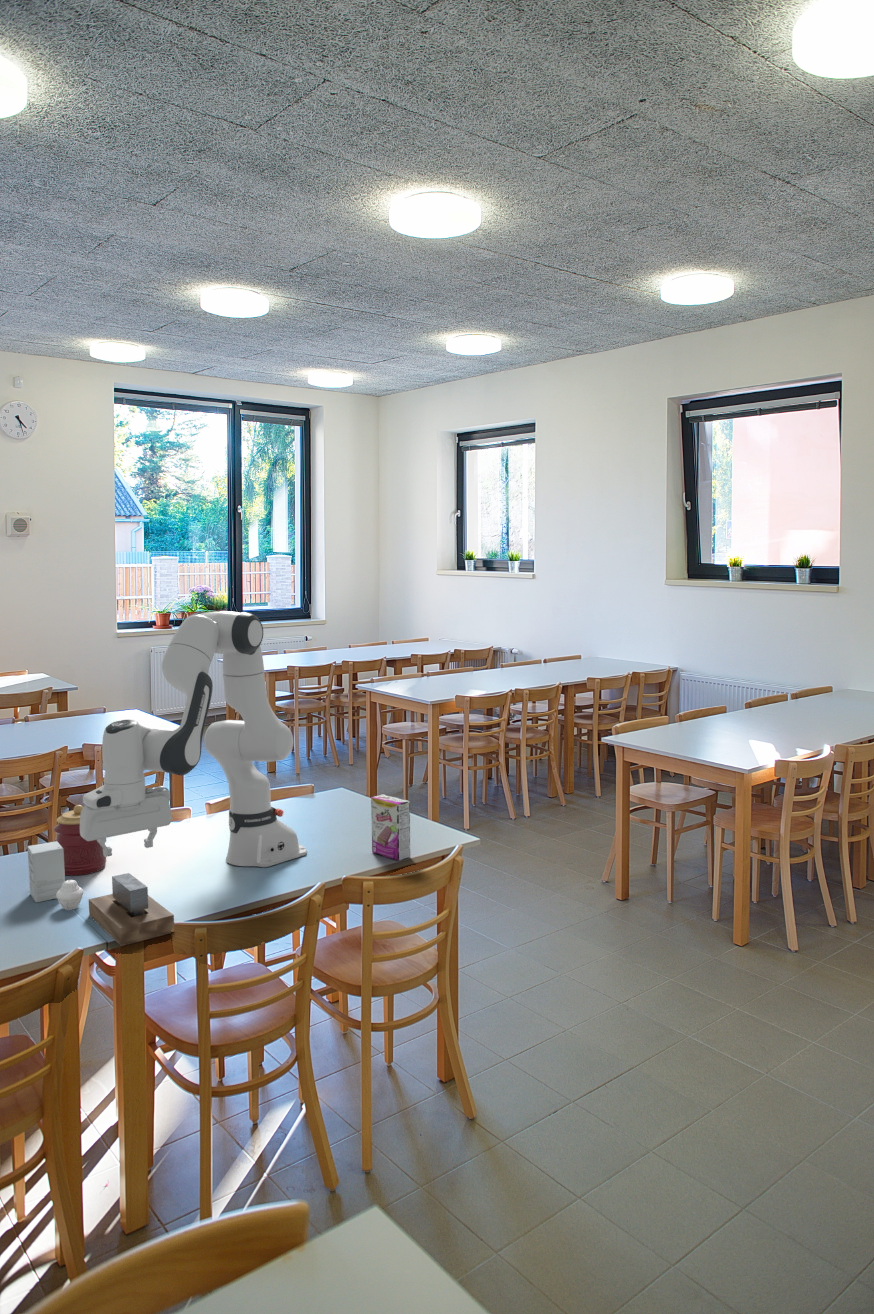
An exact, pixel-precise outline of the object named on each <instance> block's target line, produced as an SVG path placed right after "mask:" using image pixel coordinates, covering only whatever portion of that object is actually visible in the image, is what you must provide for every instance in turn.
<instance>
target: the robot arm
mask: <svg viewBox="0 0 874 1314" xmlns="http://www.w3.org/2000/svg"><path fill="white" fill-rule="evenodd" d="M263 639H264V626H263V623H262V622H261V620H260V619H259V617H258V616H257V615H255V614H252V613H251V612H245V611H242V612H238V611H231V610H230V611H228V610H221V611H209V612H207V611H206V612H205V611H199V612H194V613H192V614H190V615H188V616H187V617H186V618H185V619H184V620H183V621H182V623H181V624H180V625H179V626H178V629H176V631H175V633H174V634H173V636H172V638H171V641H170V642H169V644H168V647H167V648H166V651H165V653H164V656H163V658H162V662H161V672H162V673H163V676H164V679H165V680H166V681H167V682H168V683H169V684H170V685H171V686H172V687H173V688H175V689H176V690H177V691H179V692H181V693H183V694H185V696H186V701H185V702H186V703H185V706H184V710H183V714H182V718H181V722H180V725H179V727H177V728H176V729H174V730H165V729H157V728H156V729H155V728H150V727H146V726H143V725H141V724H139V722H138V720H135V719H122V720H121V719H120V720H116V721H113V722H111V723H110V724H108V725H107V726H106V727H105V728H104V731H103V734H102V743H101V744H102V745H101V753H102V755H101V756H102V765H103V768H104V777H103V785H101V786H99V787H98V788H95V789H93V790H91V791H88V792H87V793H85V794H83V796H82V802H83V804H84V806H83V809H82V811H81V814H80V835H81V837H82V838H83V839H85V840H86V841H93V840H97V842H98V843H99V844H100V846H101V847H102V848H103V855H104V856H105V857H106V858H108V857H112V856H113V852H112V851H113V848H112V847H111V846H107V845H106V843H107V839H108V838H112V837H116V836H121V835H122V836H123V835H127V834H131V833H132V834H133V833H137V832H141V831H146V830H147V831H148V832H149V833H148V836H147V838H144V839H143V842H144V843H143V846H144V848H146V849H149V848H154V839H155V837H156V835H157V833H158V828H162V827H167V826H169V825H170V824H171V822H172V820H173V815H172V809H171V803H170V801H171V791H170V789H168V788H167V787H164V786H163V785H159V786H157V787H149V788H146V776H145V773H144V771H146V770H147V771H151V772H159V773H160V772H163V773H167V774H172V775H176V776H185V775H187V774H189V773H190V772H191V771H193V770H194V769H195V768H196V766H197V765H198V764H199V761H200V760H201V756H202V755H201V754H202V742H203V741H204V747H205V750H206V751H207V753H208V754H209V755H211V757H213V758H214V759H215V761H216V762H217V763H218V764H219V765H220V767H221V768H222V770H223V772H224V775H225V777H226V780H227V784H228V794H229V805H230V807H229V808H230V809H229V810H228V826H229V843H228V844H229V845H228V849H227V854H226V858H225V862H227V863H228V864H229V865H233V866H239V867H259V868H260V867H261V868H268V867H271V866H275V865H278V864H282V863H285V862H287V861H291V860H294V859H297V858H300V857H303V856H306V855H307V853H308V851H307V849H306V847H305V846H304V845H302V844H300V843H299V839H298V835H297V834H296V833H297V832H296V831H295V830H294V829H293V828H292V827H290V826H288V825H287V824H285V823H284V822H283V821H281V820H279V819H278V818H277V817H279V818H280V817H283V815H284V813H285V812H284V810H283V809H280V808H275V807H273V806H272V805H271V802H272V801H271V783H270V780H269V778H268V777H267V776H266V775H265V774H263V773H262V772H260V771H259V770H258V769H257V768H256V766H255V764H254V762H263V763H264V762H265V763H270V762H277V761H283V760H286V759H287V758H288V757H289V756H290V754H291V753H292V750H293V748H294V736H293V735H294V734H293V732H292V730H291V729H290V728H289V726H287V725H286V724H285V723H283V722H282V720H280V719H279V718H278V716H277V715H276V714H275V712H274V711H273V709H272V707H271V704H270V701H269V698H268V695H267V693H268V692H267V687H266V686H267V685H266V677H265V667H264V658H263V657H264V656H263V652H262V648H261V644H262V642H263ZM215 654H220V655H222V678H223V691H224V699H225V702H226V704H227V705H228V706H229V707H230V708H231V709H233V710H235V711H236V712H237V713H238V715H240V716H241V719H243V720H241V719H240V720H239V719H238V720H236V719H235V720H234V719H226V720H220V721H216V722H211V724H210V725H209V726H208V727H207V729H206V731H205V727H206V723H207V718H208V715H209V708H210V705H211V702H212V701H211V700H212V695H213V680H212V678H211V676H210V675H209V669H210V667H211V663H212V661H213V659H214V656H215ZM204 732H205V733H204ZM203 735H204V738H203ZM203 739H204V740H203ZM104 843H105V844H104Z"/></svg>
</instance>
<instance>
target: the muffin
mask: <svg viewBox="0 0 874 1314" xmlns="http://www.w3.org/2000/svg"><path fill="white" fill-rule="evenodd" d="M83 895H84V889H83V888H82V887H80V886H79V885H78V882H77V881H76V880H74V879H67V880H65V882H63V883H62V887H61V888H60V890H59V891H58V892H57V894H56V897H57V898H56V899H57V902H58V903H59V904H60V907H62V909H63V910H64V909H65V910H64V911H73V910H75V909H77V908H78V907H79V905H80V903H81V901H82V899H83ZM72 909H73V910H72Z"/></svg>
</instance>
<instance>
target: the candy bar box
mask: <svg viewBox="0 0 874 1314" xmlns="http://www.w3.org/2000/svg"><path fill="white" fill-rule="evenodd" d="M370 798H371V800H370V802H371V850H372V851H371V852H372V854H376V855H379V856H382V857H385V858H389V859H392V860H395V861H397V862H400V861H403V860H406V859H409V858H411V809H410V808H411V807H410V806H411V805H410V801H409V800H407V799H403V798H399V797H395V796H391V795H387V794H384V793H383V794H382V793H381V794H378V795H375V796H371V797H370Z"/></svg>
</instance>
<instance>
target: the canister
mask: <svg viewBox="0 0 874 1314" xmlns="http://www.w3.org/2000/svg"><path fill="white" fill-rule="evenodd" d="M83 807H84V806H83V805H82V804H76V805H74V807H73V808H72V809H73V810H68V811H66V812H63V813H62V814H61V815H60V816H58V817H57V819H56V822H57V825H55V826H54V827H53V832H55V839H54V841H53V842H55V841H57V842H58V843H59V844H60V845H61V847H62V848H63V851H64V869H65V876H81V875H89V874H93V873H96V872H99V871H101V870H103V869H104V868H105V867H106V864H107V857H105V856H104V855H103V848H102V847H101V846H100V844H99V843H98V842H97V840H93V841H86V840H85V839H83V838H82V837H81V835H80V814H81V811H82V809H83ZM104 844H105V845H106V842H105V843H104Z"/></svg>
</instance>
